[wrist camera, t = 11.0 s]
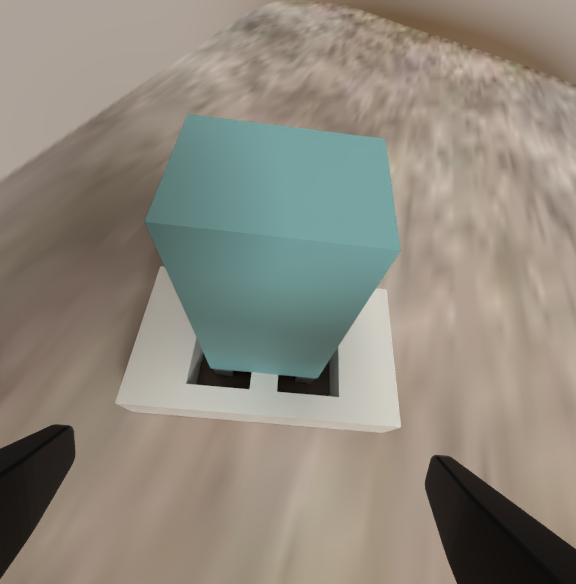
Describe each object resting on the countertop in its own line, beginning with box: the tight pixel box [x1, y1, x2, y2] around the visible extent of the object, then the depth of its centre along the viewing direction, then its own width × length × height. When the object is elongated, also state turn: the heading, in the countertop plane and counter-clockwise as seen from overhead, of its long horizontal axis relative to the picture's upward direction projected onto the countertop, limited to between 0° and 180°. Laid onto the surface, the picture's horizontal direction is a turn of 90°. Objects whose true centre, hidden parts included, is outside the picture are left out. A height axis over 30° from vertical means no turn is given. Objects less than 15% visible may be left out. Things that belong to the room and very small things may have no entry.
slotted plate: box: [115, 266, 401, 433], centre depth 18 cm, size 8×14×2 cm, turn 86°
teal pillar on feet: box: [144, 114, 401, 384], centre depth 13 cm, size 4×6×13 cm
